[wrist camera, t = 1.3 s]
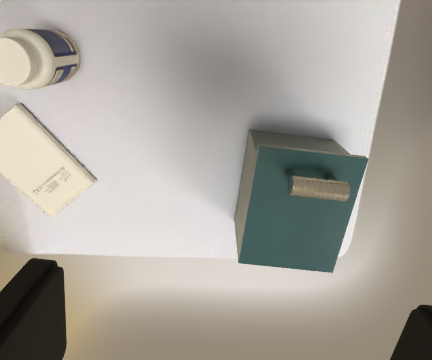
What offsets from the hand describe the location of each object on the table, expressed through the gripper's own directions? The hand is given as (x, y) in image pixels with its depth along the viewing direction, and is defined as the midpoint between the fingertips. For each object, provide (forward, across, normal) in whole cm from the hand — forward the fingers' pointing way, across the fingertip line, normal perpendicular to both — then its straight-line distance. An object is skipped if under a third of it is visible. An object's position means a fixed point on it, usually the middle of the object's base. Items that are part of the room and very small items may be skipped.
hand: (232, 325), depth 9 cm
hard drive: (+33, +22, +10) cm, 41 cm away
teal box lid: (+25, -9, +8) cm, 27 cm away
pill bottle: (+33, +20, -4) cm, 39 cm away
